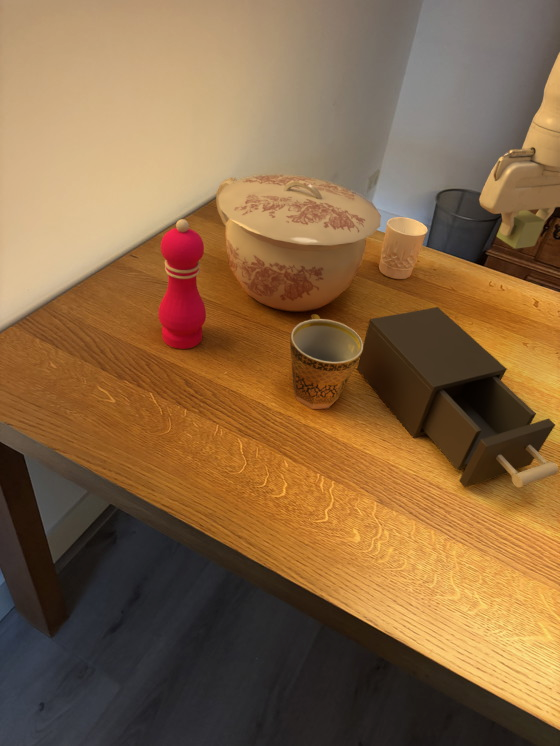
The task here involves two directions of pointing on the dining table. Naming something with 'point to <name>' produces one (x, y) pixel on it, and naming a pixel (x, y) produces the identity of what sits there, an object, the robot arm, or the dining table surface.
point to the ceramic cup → (322, 360)
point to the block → (524, 230)
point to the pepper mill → (182, 288)
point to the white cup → (401, 247)
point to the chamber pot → (294, 237)
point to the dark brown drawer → (488, 432)
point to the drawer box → (420, 362)
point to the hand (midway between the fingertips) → (519, 232)
